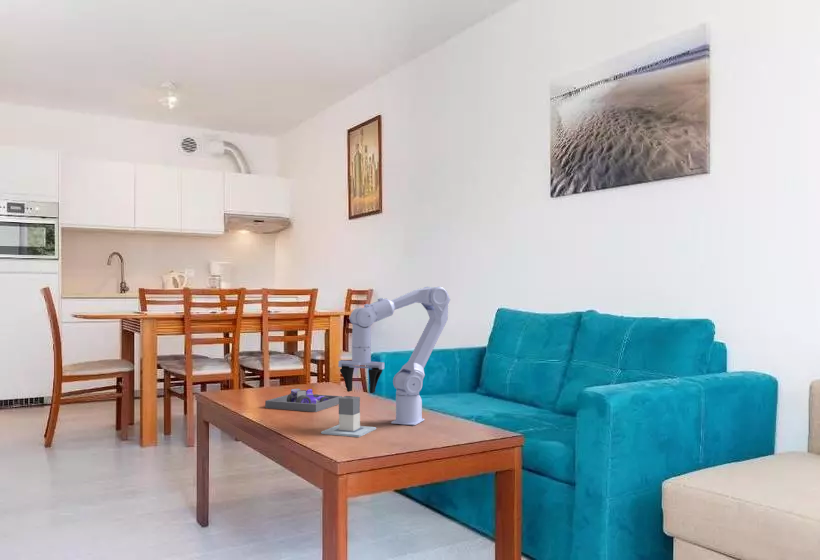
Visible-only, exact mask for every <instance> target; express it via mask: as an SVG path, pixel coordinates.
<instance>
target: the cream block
mask: <svg viewBox="0 0 820 560" xmlns="http://www.w3.org/2000/svg"><path fill="white" fill-rule="evenodd" d="M338 425H339V430H347V431H355V430H357V429H359V428H360V426H361V412H360V413H357V414H355V415H344V414H339V413H338Z"/></svg>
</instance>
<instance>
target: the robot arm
mask: <svg viewBox="0 0 820 560" xmlns="http://www.w3.org/2000/svg"><path fill="white" fill-rule="evenodd" d="M450 301H451V298H450V295H449V292H448V291H447V290H446V289H445V288H444V287H442V286H435V287H434V286H431V287H430V286H424V287H423V288H417V289H414V290H411V291H410V292H407V293H405V294H403V295H400V296H398V297H396V298H393V299H391V300H390V299H388V298H383V297H379V298H377V301H375V302H373V303H365V304H363V306H364V307H357V308H354V309H353V311H351V313H350V316H349V317H348V318H349V322H350V323H351V325H352V333H351V337H352V339H351V340H352V341H351V360H342V359H341V360H338V368H340V369H339V373H340V374H341V376H342V377H343V380H344V383H345V387H346V388H345V389H346V392H352V391H353V379H354V378H353V376H354V370H355V368H356V369H368V375H369V376H368V377H369V393H370V394H374V393H376V388H377V384H378V383H379V382H378V381H379V379H380V377H381V375H382V372H383V370H385V362H381V361H372V359H371V358H372V356H371V355H372V352H371V351H372V325H373V324H374V323H376V322H379V321H381V320H384V319H387V318H389V317H392V316H393V315H394V312H395V310H399V309H402V308H403V307H407V306H409V305H412V304H415V303H418V304H421V306H422V307H423V308H424V309H425V311H426V312H427V315H428V317H429V319H428V321H427V323H426V325H425V327H424V328H423V331H422V334H421V335H420V337H419V339H418V341H417V343H416V344H415V347H414V349H413V351H412V353H411V355H410V357H409V359H408V361H407V362H406V363H404V365H402V366H401V368H400V370H398V372H397V373H396V374H394V377H393V378H392V379H393V380H392V384H393V387H394V389H396V391H395V419H394V420H392V421H391V422H390V424H392V425H393V424H395V425H405V426H406V425H408V426H416V425H418V424H421V423H422V422H424V421H425V418H423V414H422V413H423V400H422V397H421V396H420V392H421V391H422V388H423V381H424V378H425V376H426V374H425V369H424V368H425V367H426V365H427V362H428V361H429V359H430V356H431V354H432V352H433V350H434V348H435V346H436V344H437V342H438V340H439V338H440V336H441V334H442V332H443V330H444V327H445V325H446V324H447V321H448V317H449V303H450Z"/></svg>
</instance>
